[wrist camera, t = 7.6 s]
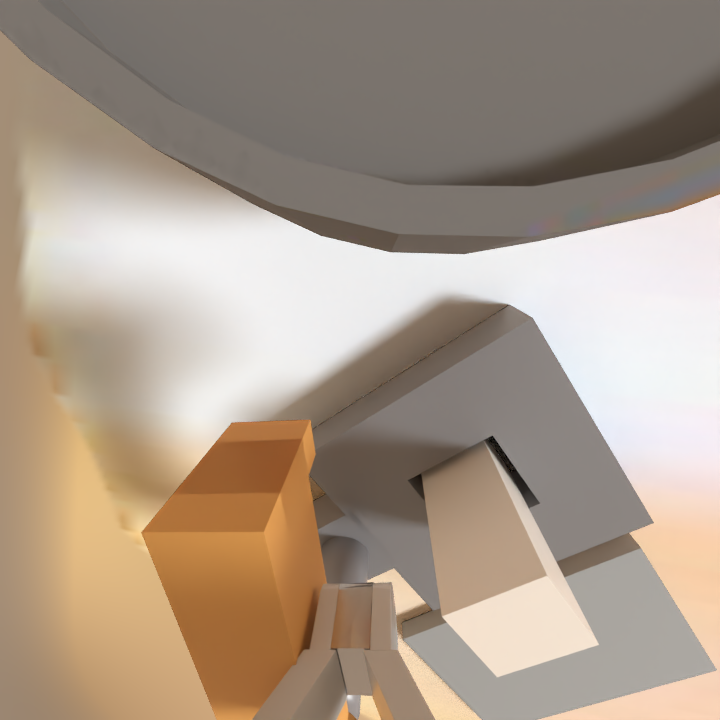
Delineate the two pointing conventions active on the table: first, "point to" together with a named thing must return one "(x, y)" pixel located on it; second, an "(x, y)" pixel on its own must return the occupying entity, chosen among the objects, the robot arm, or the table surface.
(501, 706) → the pad
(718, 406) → the table surface
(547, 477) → the socket
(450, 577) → the plug
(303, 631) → the rounded-end orange bar
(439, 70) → the reusable coffee cup
